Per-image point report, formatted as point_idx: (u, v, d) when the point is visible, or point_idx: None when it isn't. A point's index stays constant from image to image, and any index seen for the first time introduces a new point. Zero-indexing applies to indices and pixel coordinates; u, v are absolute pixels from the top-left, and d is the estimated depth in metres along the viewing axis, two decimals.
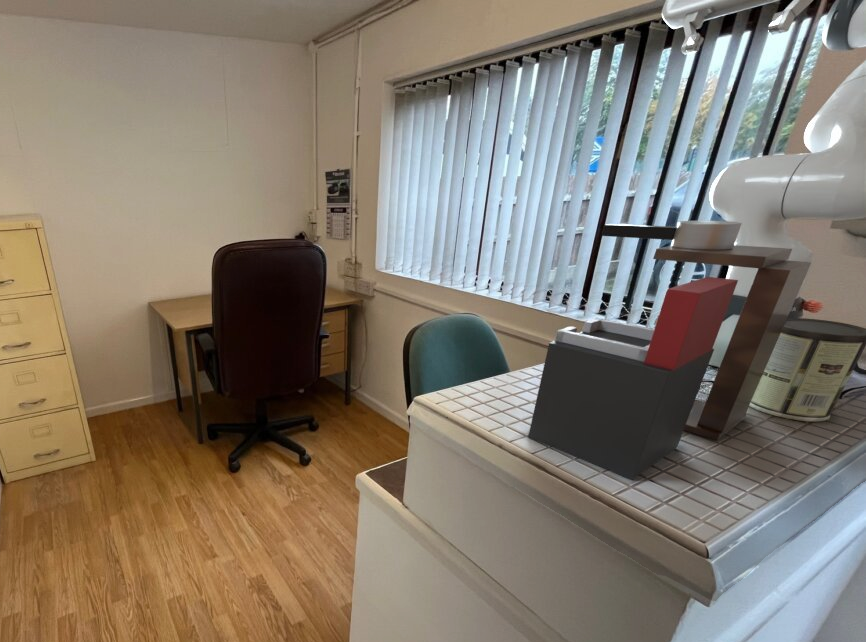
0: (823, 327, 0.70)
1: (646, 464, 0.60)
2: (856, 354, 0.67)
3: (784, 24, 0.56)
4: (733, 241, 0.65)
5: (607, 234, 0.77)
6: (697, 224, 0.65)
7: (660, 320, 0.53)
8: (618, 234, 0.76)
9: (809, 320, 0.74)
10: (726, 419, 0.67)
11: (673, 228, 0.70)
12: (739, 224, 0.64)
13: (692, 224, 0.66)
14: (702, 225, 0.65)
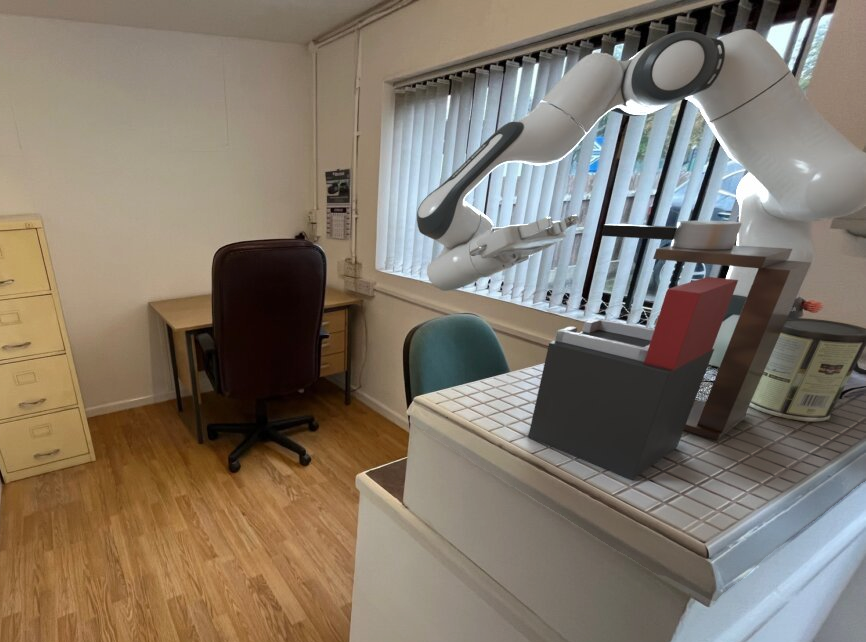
0: (823, 327, 0.70)
1: (646, 464, 0.60)
2: (856, 354, 0.67)
3: (547, 225, 0.80)
4: (733, 241, 0.65)
5: (607, 234, 0.77)
6: (697, 224, 0.65)
7: (660, 320, 0.53)
8: (618, 234, 0.76)
9: (809, 320, 0.74)
10: (726, 419, 0.67)
11: (673, 228, 0.70)
12: (739, 224, 0.64)
13: (692, 224, 0.66)
14: (702, 225, 0.65)
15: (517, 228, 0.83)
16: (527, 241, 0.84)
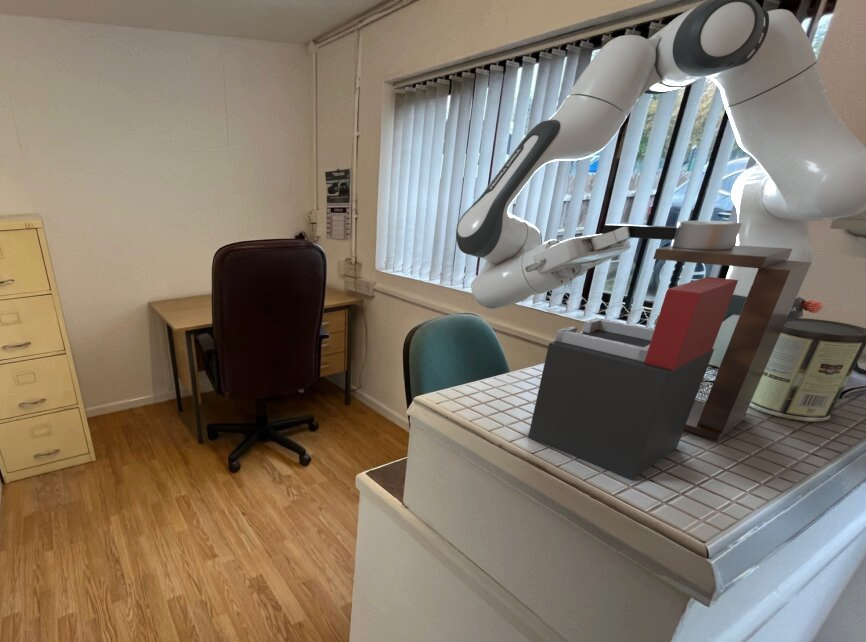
0: (823, 327, 0.70)
1: (646, 464, 0.60)
2: (856, 354, 0.67)
3: (626, 234, 0.74)
4: (733, 241, 0.65)
5: None
6: (697, 224, 0.65)
7: (660, 320, 0.53)
8: None
9: (809, 320, 0.74)
10: (726, 419, 0.67)
11: (673, 228, 0.70)
12: (739, 224, 0.64)
13: (692, 224, 0.66)
14: (702, 225, 0.65)
15: (590, 239, 0.77)
16: (592, 254, 0.76)
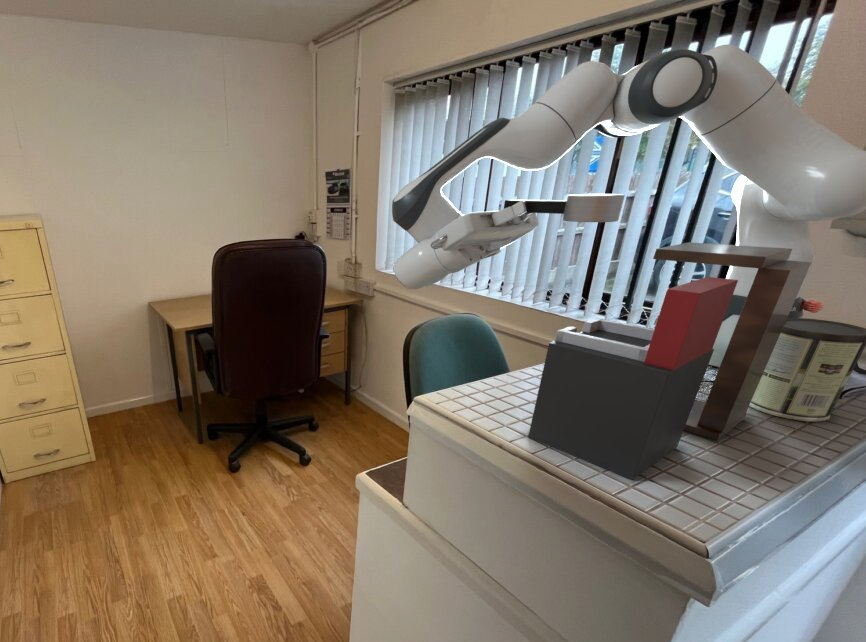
0: (823, 327, 0.70)
1: (646, 464, 0.60)
2: (856, 354, 0.67)
3: (522, 209, 0.73)
4: (616, 213, 0.64)
5: None
6: (581, 196, 0.65)
7: (660, 320, 0.53)
8: None
9: (809, 320, 0.74)
10: (726, 419, 0.67)
11: (564, 202, 0.69)
12: (621, 196, 0.63)
13: (577, 196, 0.65)
14: (585, 197, 0.64)
15: (491, 215, 0.76)
16: (492, 230, 0.76)
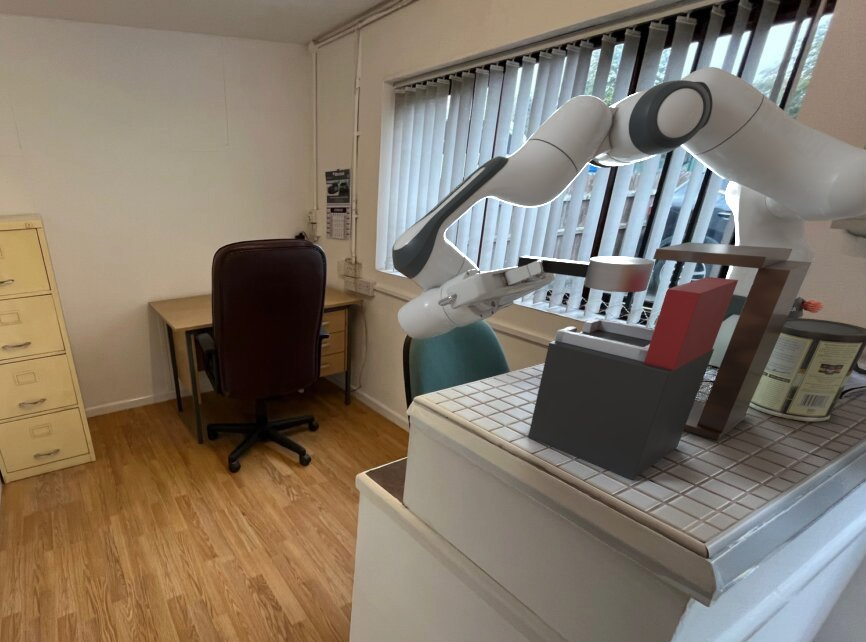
0: (823, 327, 0.70)
1: (646, 464, 0.60)
2: (856, 354, 0.67)
3: (539, 270, 0.67)
4: (645, 282, 0.58)
5: None
6: (606, 263, 0.59)
7: (660, 320, 0.53)
8: None
9: (809, 320, 0.74)
10: (726, 419, 0.67)
11: (585, 265, 0.63)
12: (650, 264, 0.57)
13: (601, 263, 0.59)
14: (611, 265, 0.58)
15: (504, 273, 0.70)
16: (505, 290, 0.70)
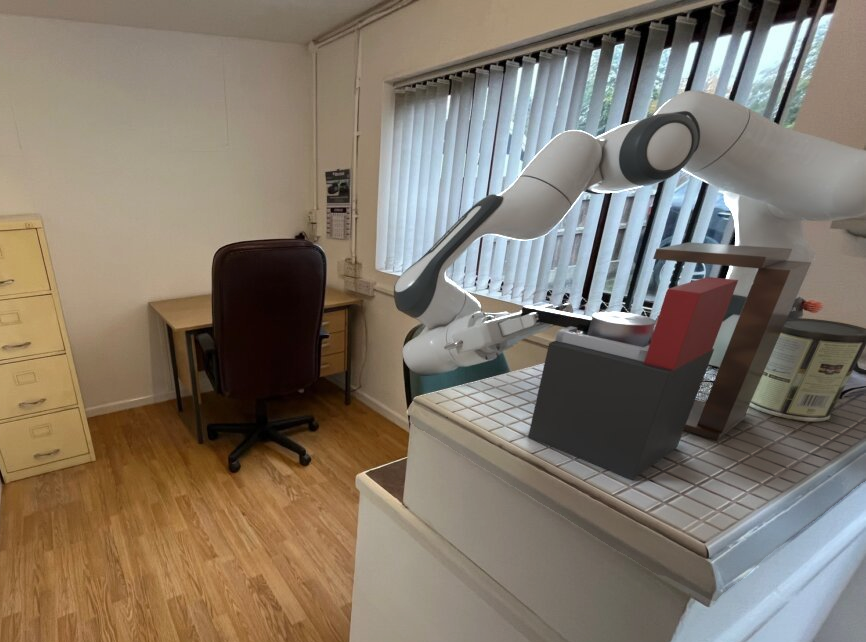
0: (823, 327, 0.70)
1: (646, 464, 0.60)
2: (856, 354, 0.67)
3: (532, 323, 0.67)
4: (646, 341, 0.60)
5: None
6: (608, 322, 0.60)
7: (660, 320, 0.53)
8: None
9: (809, 320, 0.74)
10: (726, 419, 0.67)
11: (588, 320, 0.64)
12: (652, 324, 0.59)
13: (603, 321, 0.60)
14: (613, 324, 0.59)
15: (497, 324, 0.70)
16: (510, 337, 0.71)
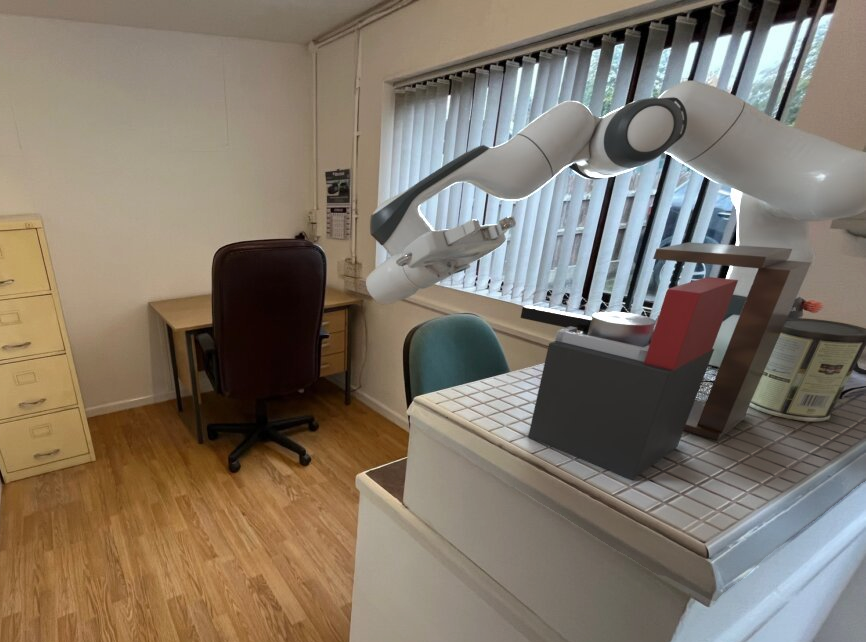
0: (823, 327, 0.70)
1: (646, 464, 0.60)
2: (856, 354, 0.67)
3: (473, 228, 0.71)
4: (646, 341, 0.60)
5: (526, 317, 0.72)
6: (608, 322, 0.60)
7: (660, 320, 0.53)
8: (536, 318, 0.70)
9: (809, 320, 0.74)
10: (726, 419, 0.67)
11: (588, 320, 0.64)
12: (652, 324, 0.59)
13: (603, 321, 0.60)
14: (613, 324, 0.59)
15: (442, 233, 0.74)
16: (456, 247, 0.75)
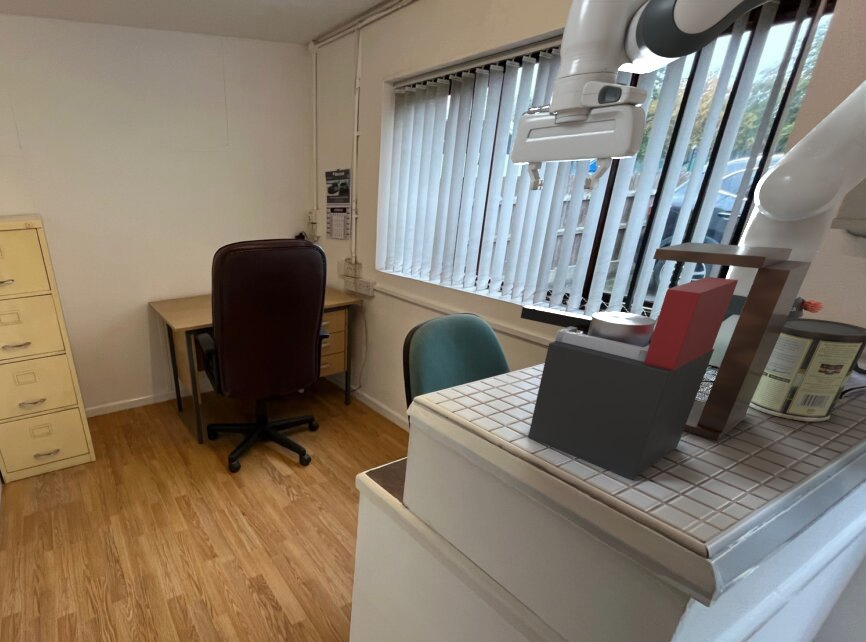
0: (823, 327, 0.70)
1: (646, 464, 0.60)
2: (856, 354, 0.67)
3: None
4: (646, 341, 0.60)
5: (526, 317, 0.72)
6: (608, 322, 0.60)
7: (660, 320, 0.53)
8: (536, 318, 0.70)
9: (809, 320, 0.74)
10: (726, 419, 0.67)
11: (588, 320, 0.64)
12: (652, 324, 0.59)
13: (603, 321, 0.60)
14: (613, 324, 0.59)
15: (527, 163, 0.85)
16: None
